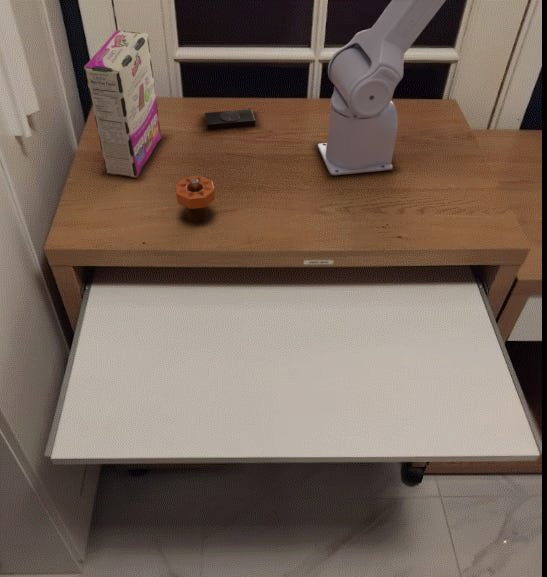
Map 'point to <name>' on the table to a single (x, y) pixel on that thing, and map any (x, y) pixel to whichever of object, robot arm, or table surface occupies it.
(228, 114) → the hob plate
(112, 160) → the candy bar box
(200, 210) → the brown cylinder with stem
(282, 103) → the table surface
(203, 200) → the ring
